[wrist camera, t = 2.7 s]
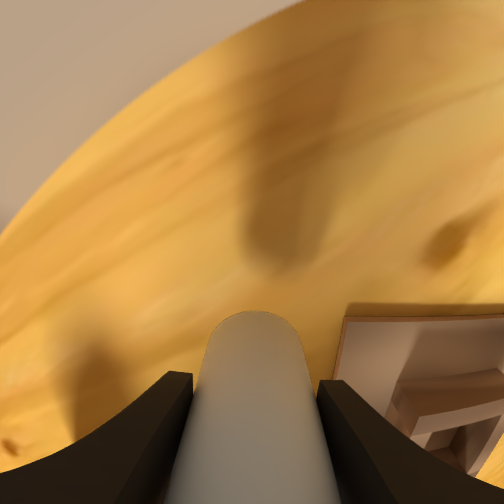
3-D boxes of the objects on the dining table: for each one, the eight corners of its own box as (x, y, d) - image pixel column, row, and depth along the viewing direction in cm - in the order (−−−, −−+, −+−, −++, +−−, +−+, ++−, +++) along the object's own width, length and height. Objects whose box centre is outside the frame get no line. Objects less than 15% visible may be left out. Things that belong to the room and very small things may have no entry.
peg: (295, 392, 11) (335, 651, 2) (207, 387, 11) (152, 647, 2) (307, 313, 10) (411, 626, 1) (207, 307, 10) (98, 625, 1)
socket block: (466, 468, 17) (483, 496, 13) (300, 497, 17) (305, 537, 13) (537, 311, 14) (572, 332, 11) (344, 316, 14) (368, 355, 10)
